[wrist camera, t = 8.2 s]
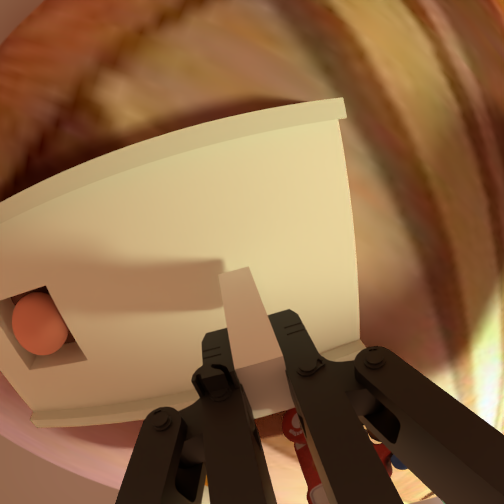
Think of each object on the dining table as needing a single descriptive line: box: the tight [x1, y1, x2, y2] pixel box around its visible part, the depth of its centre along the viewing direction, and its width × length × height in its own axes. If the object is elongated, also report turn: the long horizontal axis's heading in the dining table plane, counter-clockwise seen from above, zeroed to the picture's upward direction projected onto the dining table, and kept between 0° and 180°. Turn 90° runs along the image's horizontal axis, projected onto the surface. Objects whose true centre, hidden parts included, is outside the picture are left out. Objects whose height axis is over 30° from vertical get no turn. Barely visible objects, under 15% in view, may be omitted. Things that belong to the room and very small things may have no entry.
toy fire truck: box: [282, 407, 408, 504], centre depth 21 cm, size 7×12×10 cm, turn 135°
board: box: [0, 98, 366, 428], centre depth 16 cm, size 26×16×4 cm, turn 103°
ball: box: [12, 292, 69, 355], centre depth 15 cm, size 4×4×4 cm
